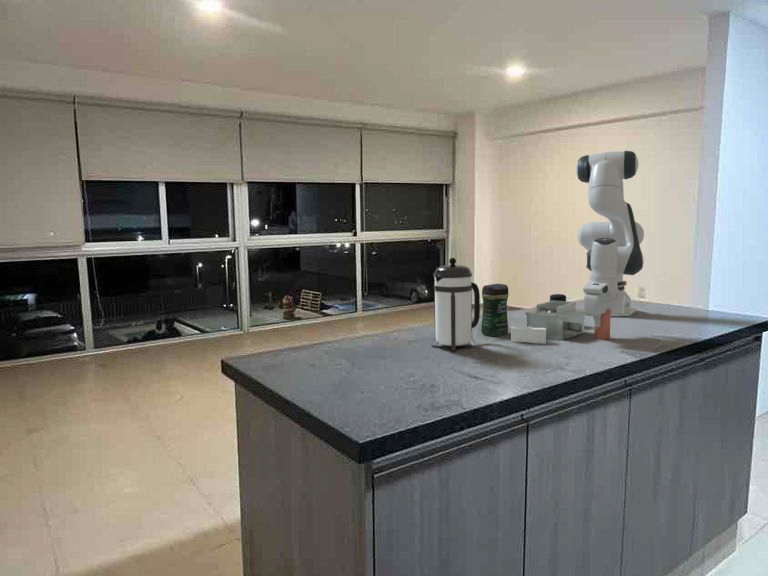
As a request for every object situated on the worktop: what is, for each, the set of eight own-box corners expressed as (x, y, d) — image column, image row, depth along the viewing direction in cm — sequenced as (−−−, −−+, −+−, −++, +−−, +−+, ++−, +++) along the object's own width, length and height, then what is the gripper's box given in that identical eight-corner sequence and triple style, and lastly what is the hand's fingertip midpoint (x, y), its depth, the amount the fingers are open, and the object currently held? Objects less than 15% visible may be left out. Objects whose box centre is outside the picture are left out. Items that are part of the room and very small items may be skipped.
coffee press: (478, 352, 175) (478, 259, 170) (428, 351, 178) (427, 260, 174) (479, 340, 191) (479, 255, 187) (434, 339, 195) (433, 255, 191)
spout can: (598, 335, 193) (599, 300, 191) (612, 338, 189) (613, 301, 187) (591, 338, 189) (592, 302, 188) (605, 340, 186) (607, 303, 184)
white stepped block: (501, 342, 189) (501, 326, 188) (521, 337, 196) (521, 321, 195) (538, 350, 177) (538, 333, 177) (557, 344, 185) (558, 327, 184)
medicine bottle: (569, 326, 210) (570, 295, 208) (550, 326, 210) (551, 296, 208) (563, 322, 217) (564, 292, 215) (545, 323, 217) (546, 293, 215)
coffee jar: (493, 337, 194) (493, 286, 192) (477, 334, 201) (477, 284, 198) (512, 334, 200) (512, 283, 197) (496, 330, 206) (496, 281, 204)
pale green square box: (549, 326, 210) (549, 299, 208) (595, 333, 197) (596, 304, 195) (525, 334, 198) (525, 305, 197) (572, 341, 185) (573, 311, 184)
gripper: (607, 281, 196) (606, 319, 198) (580, 288, 182) (579, 328, 184) (625, 283, 192) (624, 321, 193) (599, 289, 178) (597, 331, 180)
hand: (602, 325), depth 189 cm, fingers closed on spout can, 5 cm apart
